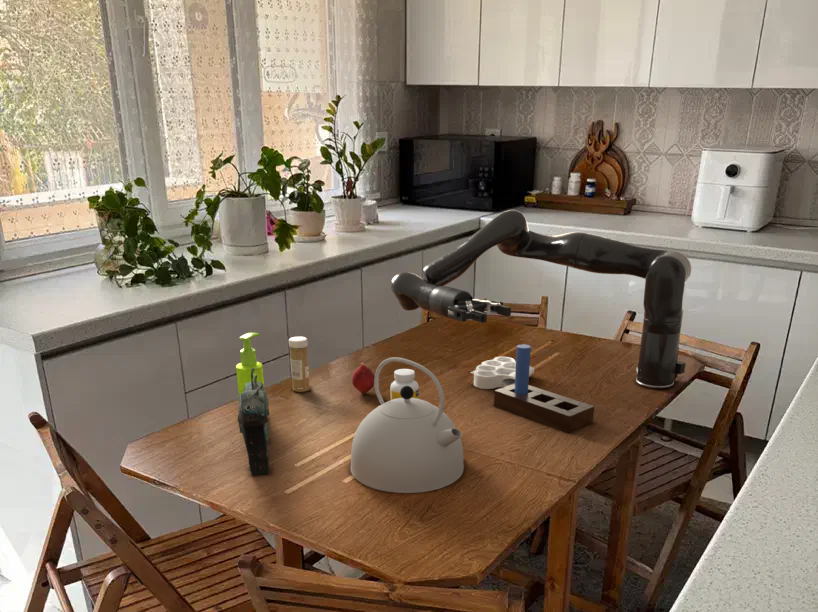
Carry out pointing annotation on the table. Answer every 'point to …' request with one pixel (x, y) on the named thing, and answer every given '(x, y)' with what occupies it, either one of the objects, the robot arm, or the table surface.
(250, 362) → the soap dispenser
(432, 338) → the table surface
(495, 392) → the rack
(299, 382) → the sprinkles bottle
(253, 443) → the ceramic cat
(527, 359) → the peg
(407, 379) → the pill bottle
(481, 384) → the white multi-cup tray
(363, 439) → the kettle
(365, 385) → the onion
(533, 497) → the table surface
